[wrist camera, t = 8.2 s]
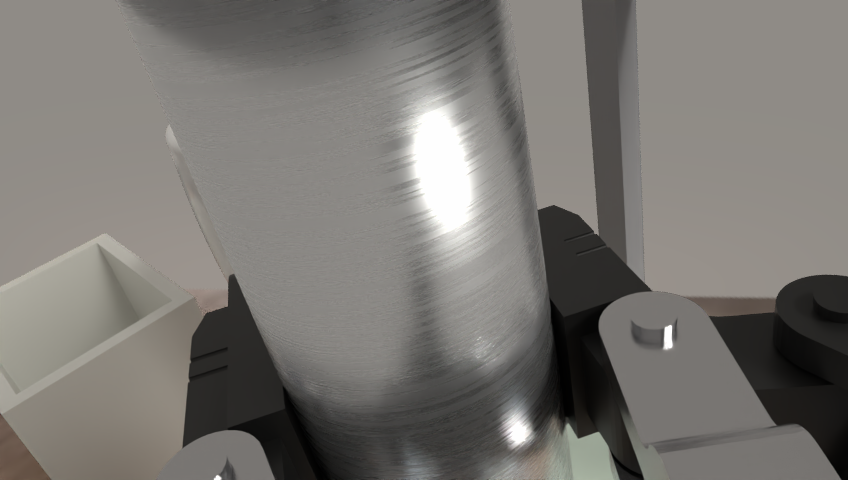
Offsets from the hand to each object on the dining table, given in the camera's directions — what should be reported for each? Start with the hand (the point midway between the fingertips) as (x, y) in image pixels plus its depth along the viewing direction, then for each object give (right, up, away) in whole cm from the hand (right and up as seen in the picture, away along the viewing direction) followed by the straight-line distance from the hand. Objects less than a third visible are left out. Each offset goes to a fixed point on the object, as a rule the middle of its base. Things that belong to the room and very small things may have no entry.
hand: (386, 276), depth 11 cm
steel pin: (+2, -8, +2) cm, 8 cm away
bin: (-12, -9, +18) cm, 23 cm away
